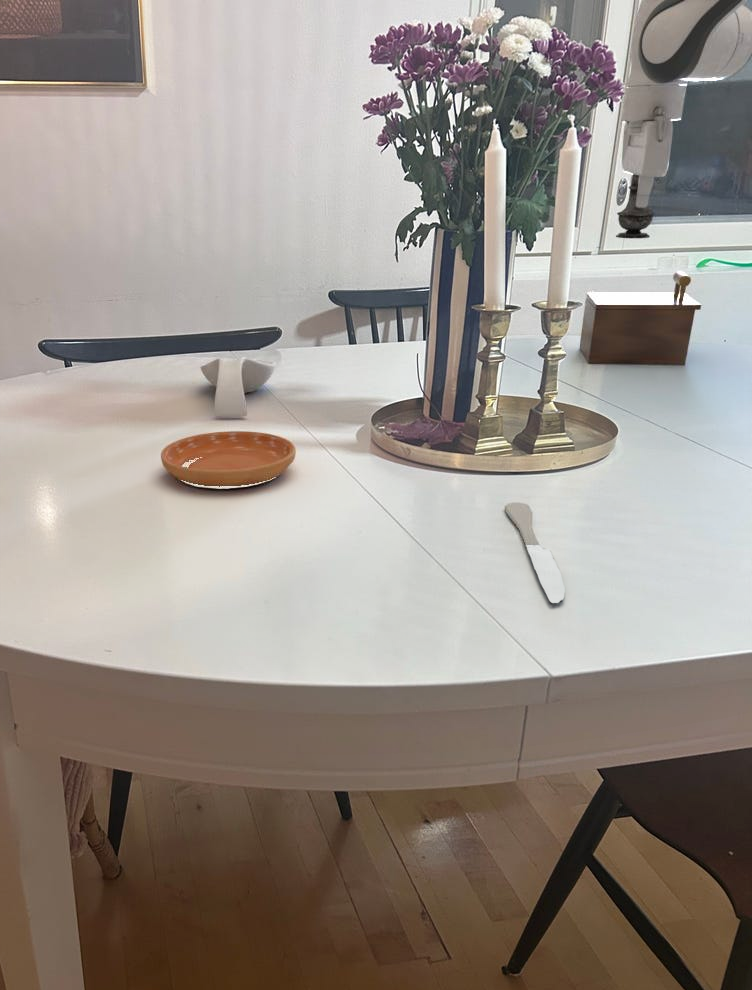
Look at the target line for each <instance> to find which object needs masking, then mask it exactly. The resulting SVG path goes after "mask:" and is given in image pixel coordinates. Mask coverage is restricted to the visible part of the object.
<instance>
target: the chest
mask: <svg viewBox="0 0 752 990" xmlns="http://www.w3.org/2000/svg"><path fill="white" fill-rule="evenodd" d="M695 313H696V310H654V309H595V307H594V306H593V305H592V304H591V302H590V301H589V300H588V299H587V297H586V296H585V303H584V310H583V317H582V325H581V332H580V333H581V334H580V339H579V340H580V341H579V347H578V348H579V350H580V352H581V353H582V355H583V357H584V359H585V361H586V362H587V364H589V365H591V364H592V365H660V366H661V365H666V366H668V365H669V366H685V365H686V362H687V357H688V350H689V345H690V341H691V335H692V329H693V325H694V324H693V323H694V318H695Z"/></svg>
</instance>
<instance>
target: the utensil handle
mask: <svg viewBox="0 0 752 990" xmlns="http://www.w3.org/2000/svg"><path fill="white" fill-rule="evenodd" d="M504 510H505V513H506V514H507V515H508V517H509V518H510V519H511V521H512V522H513V524H514V525H515V524H516V525H515V526H516V527H517V529H518V528H519V529H518V531H519V530H520V531H519V533H520V535H521V538H522V537H523V538H522V540H523V539H524V541H523V543H524V542H525V544H526V545H534V546H535V545H540V543H539V541H538V539H537V537H536V535H535V532H534V529H533V511H532V509H531V507H530V505H529V504H528V503H524V502H509V503H507V504H506V505H505V506H504ZM525 544H524V545H525Z"/></svg>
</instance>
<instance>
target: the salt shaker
mask: <svg viewBox="0 0 752 990" xmlns="http://www.w3.org/2000/svg"><path fill="white" fill-rule="evenodd" d="M638 179H639V176H638V175H634V174H633V176H632V183H631V185H629V186H628V189H629V193H628V199H627V200H628V201H627V203H626V205H625V207H624V209H623V210H621V211H619V212H616V215H618V219H617V220H618V224H619V226H620V228H621V229H623V230H626V231H625V232H619V233H618V234H616V235H615V238H618V239H648V238H650V235H649V233H647V232H642V230H645V229H648V227H649V226H650V225H651V223H652V221H653V219H654V218H653V217H654V216H655V215H656V212H654V211H652V210H651V209H650V208H649V204H648V205H647V206H646V207H639V208H638V207H636V206H635V197H636V195H637V190H638Z"/></svg>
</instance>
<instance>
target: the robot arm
mask: <svg viewBox="0 0 752 990" xmlns="http://www.w3.org/2000/svg"><path fill="white" fill-rule="evenodd" d="M747 1H748V0H641V1H640V4H639V7H638V10H637V14H636V18H635V21H634V27H633V32H632V40H631V45H630V53H629V55H630V72H629V76H628V78H627V81H626V83H625V91H624V97H623V103H622V104H623V105H622V112H621V118H620V120H621V123H625V124H624V128H623V136H622V137H623V139H622V153H621V168H622V172H624V173H627V174H631V175H630V185H629V186H631V183H632V176H633V174H634V175H638V176H639V179H638V190H637V195H636V197H635V206H636V207H638V208H639V207H646V206H647V205H648V206H649V198H650V194H651V191H652V190H653V189H652V188H653V186H654V181H655V178H659V177H660V178H661V177H663V178H664V177H665V176H666V175H667V172H668V170H669V164H670V157H671V149H672V142H673V133H674V124H673V121H681V120H682V117H683V111H684V104H685V98H686V92H687V85H688V81H689V82H691V81H692V82H699V81H701V82H702V81H719V80H723V79H726V78H729V77H732V76H734V75H736V74H738V73H739V72H740V71H741V70H743V68H744V67H745V66H746V65H747V63H749V61H750V59H751V57H752V8H750V7H749V6H747V5H744V4H745V3H746V2H747Z"/></svg>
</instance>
